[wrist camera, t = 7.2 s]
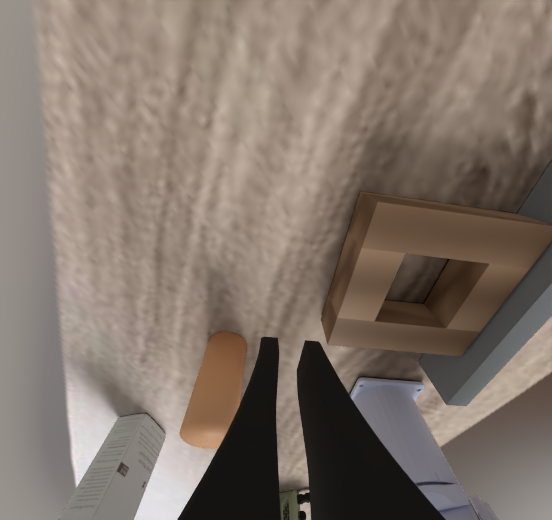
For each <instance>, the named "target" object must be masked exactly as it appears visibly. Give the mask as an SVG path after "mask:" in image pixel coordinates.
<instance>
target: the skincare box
mask: <svg viewBox="0 0 552 520" xmlns="http://www.w3.org/2000/svg"><path fill="white" fill-rule="evenodd" d="M165 438H166V434H165V433H164V432H163V431H162V429H161V428H160V427H159V426H158V425H157V424H156V423H155V422H154V421H153V419H152V418H151V417H150V416H149V415H147V414H135V415H129V416H124V417H120V418H118V419H117V421H116V422H115V424H114V426H113V428H112V429H111V431H110V433H109V434H108V436H107V438H106V439H105V441H104V443H103V444H102V446H101V448H100V450H99V451H98V453H97V455H96V456H95V458H94V460H93V461H92V463H91V465H90V466H89V468H88V470H87V471H86V473H85V475H84V476H83V478H82V480H81V481H80V483H79V485H78V487H77V488H76V490H75V492H74V493H73V495H72V497H71V498H70V500H69V502H68V503H67V505H66V507H65V508H64V510H63V512H62V514H61V515H60V517H59V519H58V520H134V517H135V515H136V512H137V510H138V507H139V505H140V502H141V499H142V497H143V494H144V492H145V489H146V487H147V484H148V481H149V479H150V476H151V474H152V471H153V469H154V466H155V464H156V461H157V458H158V456H159V453H160V451H161V448H162V446H163V443H164V440H165Z"/></svg>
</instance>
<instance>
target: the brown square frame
mask: <svg viewBox="0 0 552 520" xmlns="http://www.w3.org/2000/svg"><path fill="white" fill-rule="evenodd" d="M551 241H552V224H549V223H546V222H543V221H539V220H536V219H533V218H529V217H526V216H523V215H519V214H516V213H509V212H502V211H495V210H488V209H481V208H474V207H467V206H460V205H453V204H445V203H438V202H431V201H424V200H417V199H410V198H403V197H396V196H389V195H382V194H375V193H368V192H361V191H360V194H359V197H358V200H357V204H356V207H355V210H354V213H353V217H352V220H351V223H350V227H349V230H348V233H347V236H346V240H345V243H344V246H343V249H342V253H341V256H340V259H339V262H338V266H337V269H336V272H335V275H334V279H333V282H332V285H331V288H330V292H329V295H328V298H327V302H326V305H325V308H324V311H323V315H322V318H321V321H322V325H323V329H324V332H325V336H326V340H327V344H328V345H336V346H347V347H359V348H370V349H381V350H393V351H404V352H415V353H427V354H438V355H449V356H460V357H461V356H462V355H463V354H464V353H465V351H466V350H467V349H468V347H469V346H470V345H471V344H472V342H473V341H474V340H475V338H476V337H477V336H478V335H479V333H480V332H481V331H482V330H483V328H484V327H485V326H486V324H487V323H488V322H489V321H490V319H491V318H492V317H493V315H494V314H495V313H496V312H497V310H498V309H499V308H500V307H501V305H502V304H503V303H504V301H505V300H506V299H507V298H508V296H509V295H510V294H511V292H512V291H513V290H514V289H515V287H516V286H517V285H518V284H519V282H520V281H521V280H522V278H523V277H524V276H525V275H526V273H527V272H528V271H529V269H530V268H531V267H532V266H533V264H534V263H535V262H536V261H537V259H538V258H539V257H540V255H541V254H542V253H543V252H544V250H545V249H546V248H547V246H548V245H549V244H550V243H551ZM405 254H414V255H422V256H431V257H439V258H447V259H449V261H448V263H447V265H446V266H445V268H444V270H443V272H442V273H441V275H440V277H439V279H438V280H437V282H436V284H435V286H434V287H433V289H432V291H431V293H430V294H429V296H428V298H427V300H426V301H425V303H424V304H417V303H408V302H398V301H389V300H385V297H386V295H387V293H388V291H389V289H390V287H391V284H392V282H393V280H394V278H395V276H396V273H397V271H398V269H399V267H400V265H401V263H402V260H403V258H404V256H405Z"/></svg>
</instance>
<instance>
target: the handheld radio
mask: <svg viewBox="0 0 552 520" xmlns="http://www.w3.org/2000/svg"><path fill="white" fill-rule="evenodd" d="M279 495H280V511H281V520H306V513H305V512H304V511H300V504H303V503H305V502H307V503H309V502H310V492H309V493H305V494H304V495H302V494H299V493H298V492H297V491H296V490H292V491H286V492H281V493H279Z"/></svg>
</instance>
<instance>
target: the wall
mask: <svg viewBox="0 0 552 520" xmlns="http://www.w3.org/2000/svg"><path fill="white" fill-rule="evenodd" d="M517 214H519V215H523V216H526V217H529V218H533V219H536V220H539V221H543V222H546V223H549V224H552V161H551V163H550V164H549V166H548V167H547V169H546V170H545V172H544V173H543V175H542V176H541V178H540V179H539V181H538V182H537V184H536V185H535V187H534V188H533V190H532V191H531V193H530V194H529V196H528V197H527V199H526V200H525V202H524V203H523V205H522V206H521V208H520V210H519V211H518V213H517ZM551 316H552V241H551V243H550V244H549V245H548V246H547V248H546V249H545V250H544V252H543V253H542V254H541V255H540V257H539V258H538V259H537V261H536V262H535V263H534V264H533V266H532V267H531V268H530V269H529V271H528V272H527V273H526V275H525V276H524V277H523V278H522V280H521V281H520V282H519V284H518V285H517V286H516V287H515V289H514V290H513V291H512V292H511V294H510V295H509V296H508V298H507V299H506V300H505V301H504V303H503V304H502V305H501V307H500V308H499V309H498V310H497V312H496V313H495V314H494V315H493V317H492V318H491V319H490V321H489V322H488V323H487V324H486V326H485V327H484V328H483V330H482V331H481V332H480V333H479V335H478V336H477V337H476V338H475V340H474V341H473V342H472V344H471V345H470V346H469V347H468V349H467V350H466V351H465V353H464V354H463V355H462V356H461V357H460V356H449V355H438V354H427V353H424V355H423V356H422V358H421V359H420V361H419V364H420V365H421V367H422V368H423V370H424V371H425V373H426V374H427V376H428V378H429V379H430V381H431V382H432V384H433V385H434V387H435V388H436V390H437V391H438V393H439V394H440V396H441V397H442V399H443V400H444V402H445V404H446V405H456V406H467V405H468V404H469V403H470V402H471V401H472V400H473V399H474V398H475V396H476V395H477V394H478V393H479V392H480V391H481V390H482V389H483V388H484V387H485V386H486V385H487V384H488V383H489V382H490V381H491V380H492V379H493V377H494V376H495V375H496V374H497V373H498V372H499V371H500V370H501V369H502V368H503V367H504V366H505V365H506V364H507V363H508V362H509V361H510V359H511V358H512V357H513V356H514V355H515V354H516V353H517V352H518V351H519V350H520V349H521V348H522V347H523V346H524V345H525V344H526V343H527V341H528V340H529V339H530V338H531V337H532V336H533V335H534V334H535V333H536V332H537V331H538V330H539V329H540V328H541V327H542V326H543V325H544V324H545V322H546V321H547V320H548V319H549V318H550V317H551Z"/></svg>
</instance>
